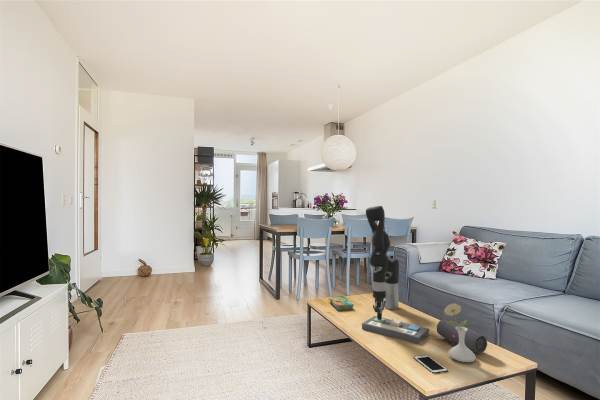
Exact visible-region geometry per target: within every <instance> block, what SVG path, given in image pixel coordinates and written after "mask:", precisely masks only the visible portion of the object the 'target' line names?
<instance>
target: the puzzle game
mask: <svg viewBox="0 0 600 400" xmlns="http://www.w3.org/2000/svg"><path fill="white" fill-rule="evenodd" d="M327 298H328V300H329V302H330V303H331V304H332V305H333V307H335V309H336V310H337V311H345V310H352V309H353V307H354V305H355V304H354V303H353V302H352V301H350V300H349V299H348V298H347V297H345V296H344V295H341V296H339V295H338V296H329V297H327Z"/></svg>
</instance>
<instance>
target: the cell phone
mask: <svg viewBox="0 0 600 400" xmlns="http://www.w3.org/2000/svg"><path fill="white" fill-rule="evenodd" d="M413 359H414V360H415V361H416V363H418V364H420V365H421V366H422V367H424V368H425V369H426V370H427V371H429V372H430V373H431V372H432V373H431V374H433V373H437V374H442V373H441V372H444V373H448V372H449V370H448V368H447V367H445V366H444V365H443V364H441V363H440V362H438V361H437V360H435V358H433V357H432V356H430V355H428V354H422V355H415V356H413Z"/></svg>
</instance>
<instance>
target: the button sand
mask: <svg viewBox="0 0 600 400" xmlns="http://www.w3.org/2000/svg"><path fill="white" fill-rule="evenodd" d="M390 320H391V321H390V325H391V326H395V327H400V326H402V322H403V320H399V319H395V318H393V319H390Z"/></svg>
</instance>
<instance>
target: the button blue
mask: <svg viewBox="0 0 600 400" xmlns="http://www.w3.org/2000/svg"><path fill="white" fill-rule="evenodd" d="M413 325H414V324H412V325H410V326H409V327H408V330H411V331H416V332H418V331H419V330H420V327H417V326H418V325H416V326H413Z"/></svg>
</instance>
